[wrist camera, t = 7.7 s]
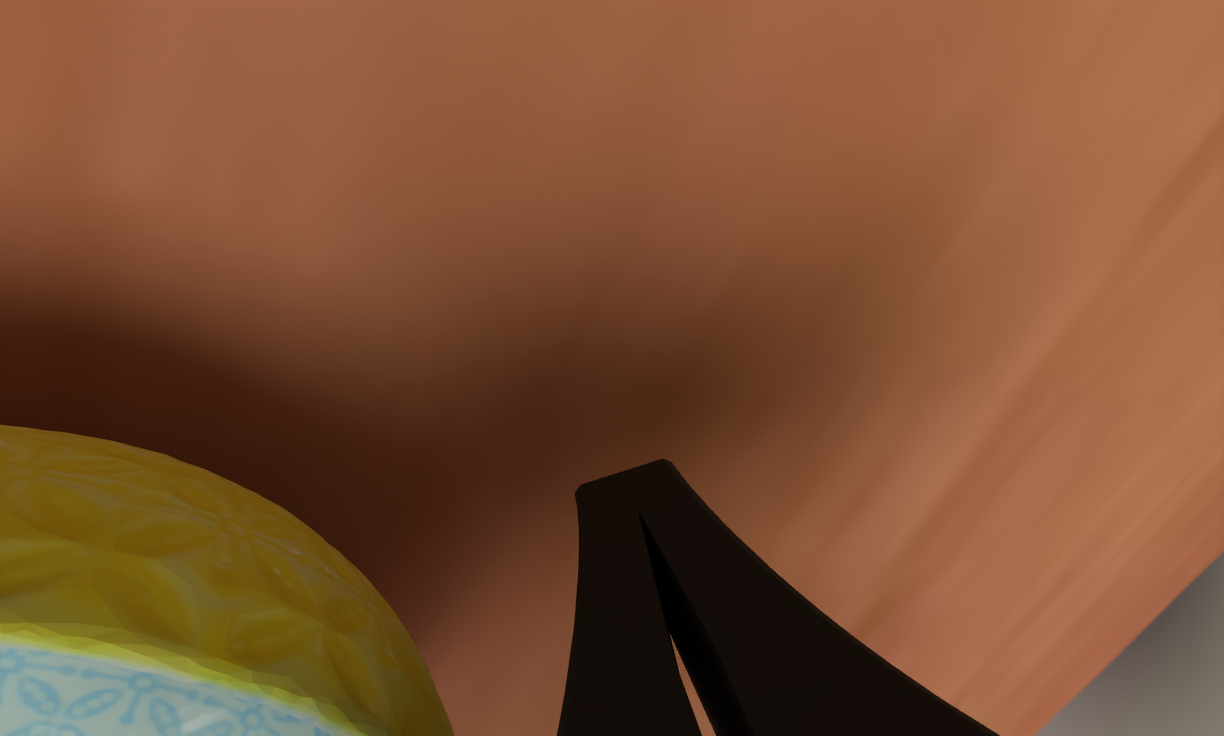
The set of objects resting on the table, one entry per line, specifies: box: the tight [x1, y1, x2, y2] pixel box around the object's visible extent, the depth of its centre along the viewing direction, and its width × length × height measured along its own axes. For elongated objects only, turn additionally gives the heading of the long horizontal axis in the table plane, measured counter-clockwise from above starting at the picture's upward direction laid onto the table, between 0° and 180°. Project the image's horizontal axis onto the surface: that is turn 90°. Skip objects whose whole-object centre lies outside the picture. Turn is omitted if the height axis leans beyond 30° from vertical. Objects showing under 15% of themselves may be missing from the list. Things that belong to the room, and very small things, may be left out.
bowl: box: [0, 425, 454, 736], centre depth 9 cm, size 11×12×6 cm
